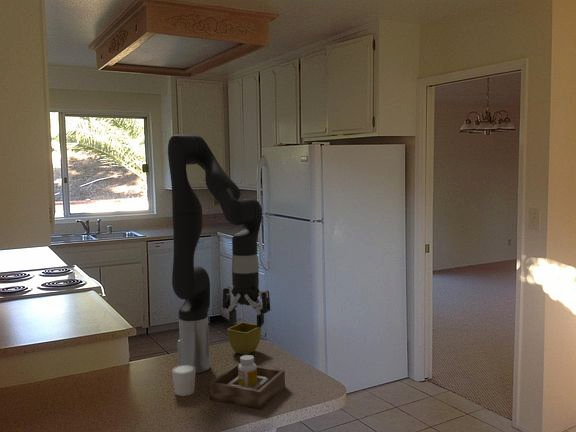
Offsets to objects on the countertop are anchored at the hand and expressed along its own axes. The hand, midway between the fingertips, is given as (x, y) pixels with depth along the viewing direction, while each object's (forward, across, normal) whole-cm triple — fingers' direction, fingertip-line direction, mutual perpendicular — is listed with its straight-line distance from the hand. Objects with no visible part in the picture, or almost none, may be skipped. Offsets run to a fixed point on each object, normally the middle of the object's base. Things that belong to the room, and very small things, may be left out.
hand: (246, 324), depth 157 cm
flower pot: (+21, -17, +28) cm, 39 cm away
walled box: (+20, 0, 0) cm, 20 cm away
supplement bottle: (+19, 0, 0) cm, 19 cm away
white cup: (+21, -18, -7) cm, 28 cm away
